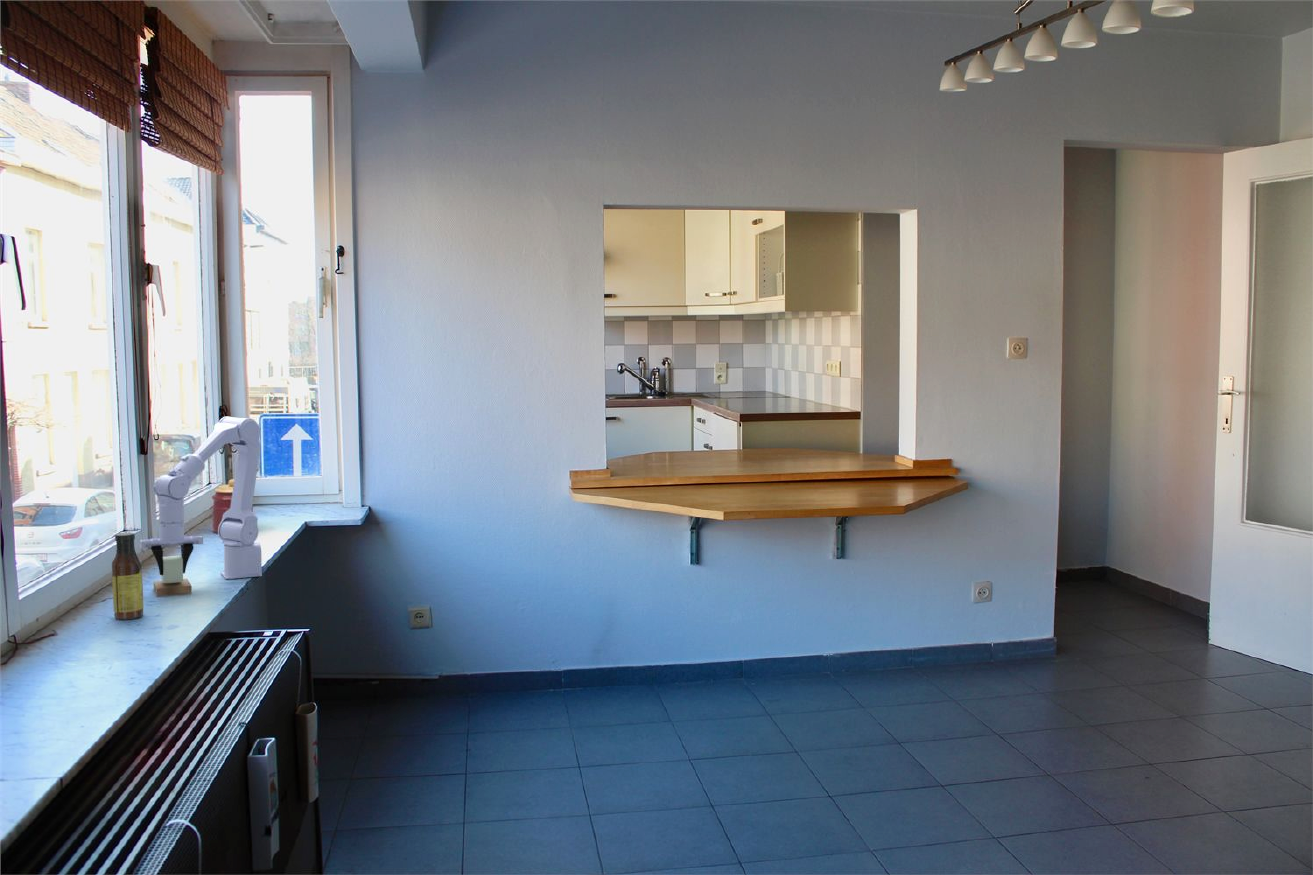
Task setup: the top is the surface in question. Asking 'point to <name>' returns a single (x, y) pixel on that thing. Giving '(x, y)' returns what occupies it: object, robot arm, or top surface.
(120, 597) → the sauce bottle
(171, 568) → the sage block
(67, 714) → the top surface
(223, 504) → the canister
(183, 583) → the walnut base block
